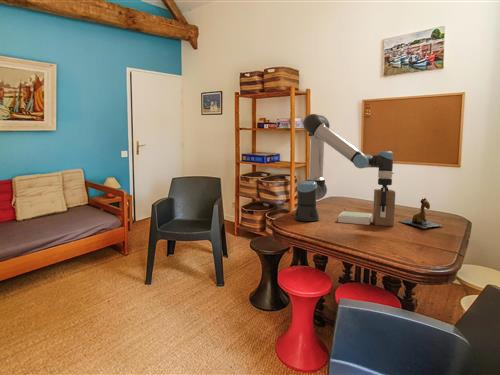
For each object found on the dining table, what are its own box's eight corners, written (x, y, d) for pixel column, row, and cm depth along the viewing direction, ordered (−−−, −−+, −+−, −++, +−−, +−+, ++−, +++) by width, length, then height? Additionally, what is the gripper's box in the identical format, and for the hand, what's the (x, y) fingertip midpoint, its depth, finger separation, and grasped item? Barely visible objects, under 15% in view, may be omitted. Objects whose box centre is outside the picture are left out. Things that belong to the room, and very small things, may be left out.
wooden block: (393, 226, 193) (395, 191, 191) (375, 225, 195) (376, 190, 193) (390, 222, 202) (391, 189, 200) (372, 221, 204) (374, 189, 202)
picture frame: (337, 222, 203) (338, 215, 203) (342, 217, 220) (342, 210, 219) (369, 224, 196) (369, 218, 196) (372, 219, 212) (372, 213, 212)
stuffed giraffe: (423, 228, 189) (424, 200, 187) (397, 222, 206) (399, 196, 204) (443, 226, 195) (445, 198, 194) (417, 220, 212) (418, 195, 210)
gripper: (391, 179, 184) (389, 219, 186) (392, 177, 205) (391, 212, 207) (376, 179, 187) (375, 218, 189) (379, 176, 208) (378, 211, 210)
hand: (383, 215), depth 198 cm, fingers closed on wooden block, 11 cm apart
